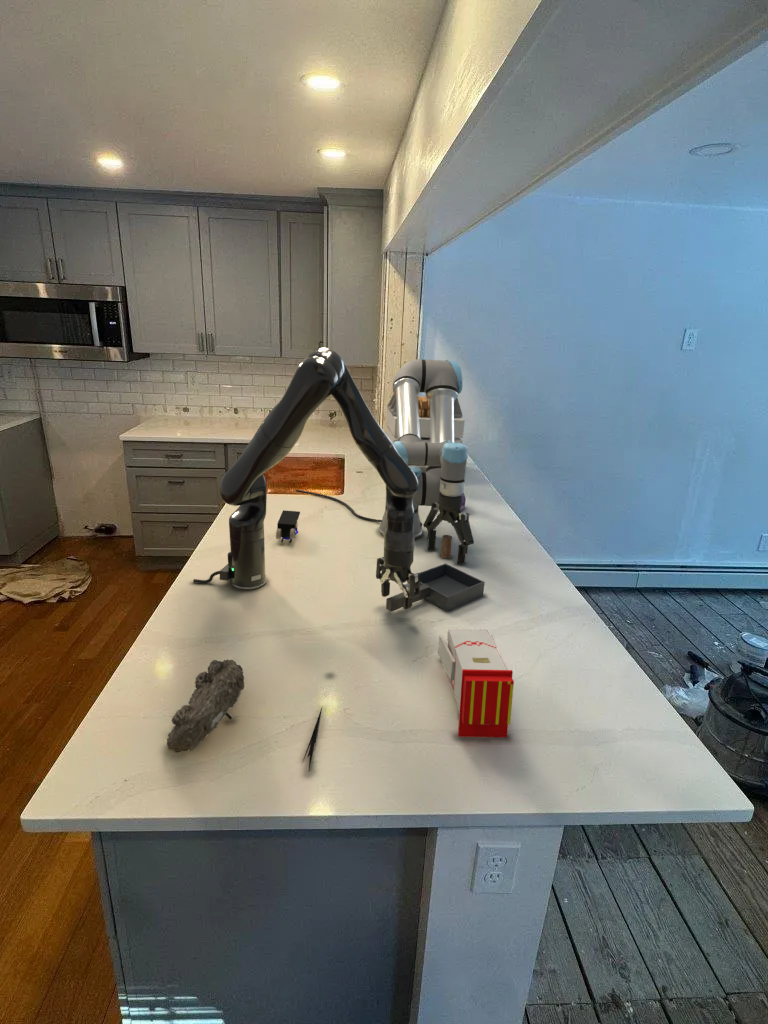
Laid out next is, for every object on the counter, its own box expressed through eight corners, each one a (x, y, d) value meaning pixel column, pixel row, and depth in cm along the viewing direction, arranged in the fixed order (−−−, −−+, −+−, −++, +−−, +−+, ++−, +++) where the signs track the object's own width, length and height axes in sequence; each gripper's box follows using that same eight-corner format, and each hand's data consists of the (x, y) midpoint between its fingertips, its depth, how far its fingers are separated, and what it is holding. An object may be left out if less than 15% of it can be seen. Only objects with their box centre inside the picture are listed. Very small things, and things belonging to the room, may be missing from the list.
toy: (488, 613, 130) (523, 677, 101) (484, 667, 133) (517, 744, 104) (435, 612, 130) (455, 676, 101) (432, 666, 133) (451, 743, 103)
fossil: (192, 660, 117) (244, 628, 112) (224, 691, 120) (276, 661, 115) (142, 746, 98) (202, 712, 93) (182, 779, 101) (242, 748, 96)
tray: (407, 627, 141) (408, 612, 140) (369, 604, 152) (370, 589, 150) (483, 595, 159) (484, 580, 158) (444, 575, 170) (445, 562, 168)
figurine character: (295, 549, 186) (301, 528, 200) (295, 529, 183) (300, 509, 196) (275, 549, 186) (282, 527, 199) (274, 528, 183) (281, 508, 196)
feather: (331, 679, 122) (336, 673, 122) (307, 777, 96) (313, 769, 95) (324, 675, 122) (329, 669, 121) (298, 772, 95) (304, 764, 95)
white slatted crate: (382, 463, 289) (386, 382, 275) (445, 464, 293) (451, 384, 279) (390, 482, 257) (394, 392, 243) (460, 483, 261) (468, 394, 247)
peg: (438, 556, 183) (440, 536, 181) (445, 553, 185) (447, 534, 183) (445, 559, 181) (447, 539, 179) (452, 557, 183) (454, 537, 181)
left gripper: (369, 538, 144) (367, 595, 149) (407, 557, 134) (404, 618, 139) (391, 532, 149) (389, 588, 154) (429, 550, 139) (425, 608, 144)
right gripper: (415, 485, 182) (411, 546, 189) (473, 506, 165) (466, 572, 172) (431, 481, 187) (427, 541, 194) (490, 501, 170) (482, 566, 177)
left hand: (396, 602), depth 147 cm, fingers open, 8 cm apart
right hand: (445, 556), depth 183 cm, fingers open, 12 cm apart
